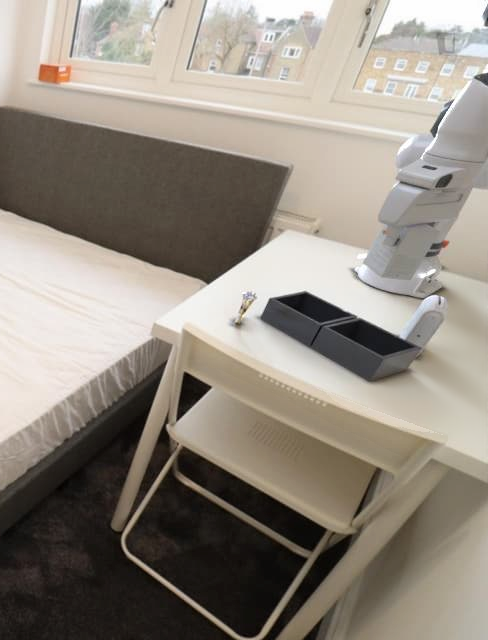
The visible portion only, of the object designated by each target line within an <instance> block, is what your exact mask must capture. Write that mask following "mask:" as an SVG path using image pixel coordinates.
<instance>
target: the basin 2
mask: <svg viewBox="0 0 488 640" xmlns="http://www.w3.org/2000/svg"><path fill="white" fill-rule="evenodd" d="M310 348H311V349H313V350H314V351H316V352H317V353H319V354H321V355H323V356H325V357H327V358H328V359H330V360H331V361H333V362H335V363H337V364H339V365H341V366H342V367H344V368H346V369H348V370H349V371H351V372H353V373H354V374H356V375H357V376H359V377H361V378H363V379H364V380H366V381H369V382H372V381H374V380H377V379H381V378H385V377H388V376H391V375H394V374H397V373H400V372H404V371H407V370H408V369H409V368H410V366H411V365H412V363H413V362H414V360H416V358H417V357H418V356H419V355H418V353H419V352H420V351H421V349H422V348H421V347H419V346H417V345H415V344H413V343H411V342H409V341H407V340H405V339H403V338H401V337H400V335H396V334H394V333H393V332H390V331H389V330H386V329H384V328H383V327H380V326H379V325H376V324H374V323H372V322H370V321H367V320H366V319H364V318H362V317H357V318H356V319H351V320H347V321H343V322H339V323H334V324H330V325H326V326H323V327H322V328H321V330H320V332H319V334H318V335H317V337H316V339H315V341H314V343H313V344H312V346H310ZM417 355H418V356H417ZM416 356H417V357H416Z"/></svg>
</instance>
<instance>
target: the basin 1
mask: <svg viewBox="0 0 488 640" xmlns="http://www.w3.org/2000/svg"><path fill="white" fill-rule="evenodd" d="M356 318H359V316H358V315H356V314H354V313H351V312H350V311H348V310H345V309H343V308H341V307H339V306H338V305H335V304H333V303H331V302H329V301H327V300H325V299H323V298H321V297H319V296H317V295H315V294H313V293H311V292H309V291H307V290H304V291H299V292H298V291H297V292H294V293H289V294H283V295H279V296H274V297H269V299H268V300H267V302H266V305H265V307H264V309H263V311H262V313H261V315H260V317H259V319H260V320H262V321H264V322H265V323H267V324H269V325H271V326H273V327H274V328H276V329H278V330H280V331H281V332H283V333H284V334H287V335H288V336H290V337H291V338H293V339H295V340H297V341H299V342H301V344H304V345H306V346H307V347H311V346H312V344H313V343H314V341H315V339H316V337H317V335H318V334H319V332H320V330H321V328H322V327H323V326H326V325H330V324H334V323H339V322H343V321H347V320H351V319H356Z"/></svg>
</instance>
